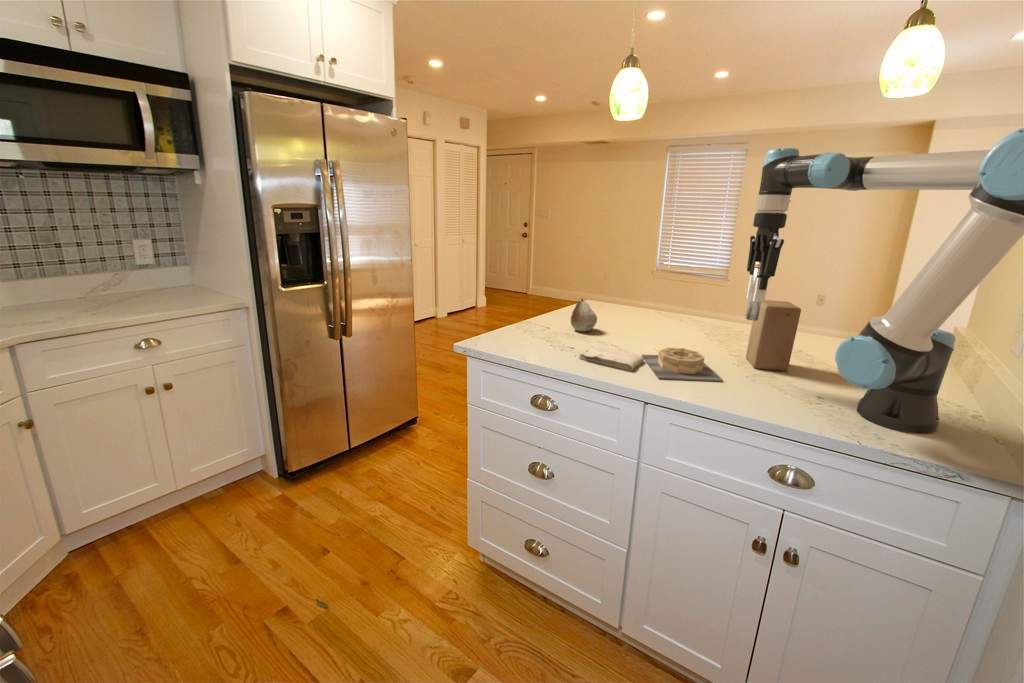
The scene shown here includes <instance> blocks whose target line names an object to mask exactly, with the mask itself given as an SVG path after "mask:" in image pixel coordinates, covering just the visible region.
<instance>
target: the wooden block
mask: <svg viewBox="0 0 1024 683" xmlns="http://www.w3.org/2000/svg"><path fill="white" fill-rule="evenodd" d="M801 314H802V309H801V307H799V306H797V305H795V304H794V303H791V302H790V301H785V300H772V299H771V300H767V299H766V300H764V302H761V306H760V311H759V317H758V320H757V321H753V320H752V323H751V327H750V328H751V329H750V333H749V338H748V344H747V347H746V348H747V349H746V354H745V360H747V362H748V363H749V364H750V365H751V366H752V367H753V368H755V369H758V370H768V371H769V370H770V371H781V372H786V371H788V370H789V366H790V361H791V357H792V352H793V349H794V344H795V339H796V334H797V330H798V326H799V321H800V317H801Z"/></svg>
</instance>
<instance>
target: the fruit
mask: <svg viewBox="0 0 1024 683" xmlns="http://www.w3.org/2000/svg"><path fill="white" fill-rule="evenodd" d="M597 320H598V316H597V315H596V313H595V311H594V310H593V309H592V308H591V306H590V304H588V302H587V301H584V298H580V301H578V302H577V303H576V304H575V306H574V309H573V311H572V313H571V315H570V324H571V327H572V328H573V330H575V331H577V332H582V333H583V332H589V331H591V330H593V328H594V327H595V326H596V325H597V322H598V321H597Z"/></svg>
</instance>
